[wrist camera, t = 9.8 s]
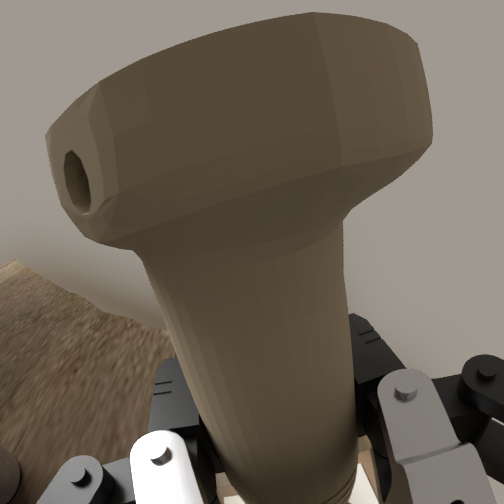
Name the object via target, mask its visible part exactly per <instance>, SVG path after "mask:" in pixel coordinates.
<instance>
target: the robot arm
mask: <svg viewBox="0 0 504 504" xmlns="http://www.w3.org/2000/svg"><path fill="white" fill-rule="evenodd" d="M348 316H349V325H350V335H351V347H352V359H353V372H354V384H355V398H356V416H357V434H358V438H359V437H362V436H364V435H367V436H368V438H369V440H370V442H371V449H370V452H371V458H372V463H373V469H374V475H375V480H376V486H377V492H378V499H379V504H496V500H495V497H494V495H493V492H492V489H491V486H490V483H489V480H488V478H487V475H488V476H490V477H492V478H493V479H495V480H497V481H498V482H500V483H502V484H504V426H503V425H501V424H499V423H497V422H496V421H494V420H492V417H493V418H495V419H497V420H499V421H501V422H503V423H504V360H502V359H500V358H498V357H495V356H492V355H486V354H485V355H477V356H474V357H472V358H470V359H469V360H468V361H467V362H466V363H465V365H464V367H463V369H462V373H461V374H458V375H453V376H448V377H443V378H437V379H430V378H429V377H428V376H427V375H426V374H425V373H423V372H421V371H418V370H414V369H407V368H405V366H404V365H403V364H402V362H401V361H400V360H399V359H398V357H397V356H396V355H395V354H394V352H393V351H392V350H391V349H390V347H389V346H388V345H387V344H386V343H385V341H384V340H383V339H381V337H380V335H379V334H378V333H377V332H376V331H374V328H373V327H372V326H371V325H370V323H369V322H368V321H367V320H366V319H364V318H362V317H360V316H358V315H356V314H354V313H353V314H349V315H348ZM153 395H154V396H153V398H152V405H151V412H150V419H149V426H148V433H147V435H145V436H143V437H142V438H141V439H139V440H138V441H137V442H136V444H135V445H134V447H133V449H132V451H131V456H129V457H127V458H124V459H121V460H118V461H115V462H112V463H109V464H106V465H101V464H100V463H99V462H98V461H97V460H96V459H95V458H93V457H90V456H85V455H82V456H76V457H73V458H71V459H70V460H68V461H67V462H66V463H65V464H64V465H63V466H62V467H61V468H60V470H59V471H58V473H57V474H56V476H55V477H54V478H53V480H52V481H51V483H50V484H49V486H48V487H47V489H46V490H45V492H44V493H43V494H42V496H41V497H40V499H39V500H38V502H37V503H36V504H223V501H222V499H221V496H220V493H219V491H218V490H217V486H216V475H215V473H222V472H226V471H225V469H224V467H223V465H222V463H221V461H220V459H219V457H218V455H217V452H216V450H215V448H214V446H213V444H212V442H211V440H210V438H209V435H208V433H207V431H206V428H205V426H204V424H203V421H202V419H201V416H200V414H199V411H198V409H197V407H196V404H195V402H194V399H193V397H192V394H191V392H190V389H189V387H188V384H187V382H186V379H185V376H184V374H183V371H182V368H181V366H180V363H179V360H178V358H177V355H176V352H175V358H170V359H165V360H164V361H163V363H162V364H161V366H160V367H159V369H158V370H157V373H156V379H155V386H154V391H153ZM486 474H487V475H486ZM19 480H20V468H19V464H18V462H17V460H16V458H15V457H14V456H13V455H12V454H11V453H10V452H9V451H8V450H7V449H6V448H5V447H4V445H3V444H2V443H1V442H0V504H7V503H8V502H9V500H10V499H11V498H12V497H13V495H14V494H15V492H16V490H17V487H18V484H19Z"/></svg>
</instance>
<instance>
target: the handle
mask: <svg viewBox="0 0 504 504" xmlns="http://www.w3.org/2000/svg"><path fill="white" fill-rule="evenodd" d="M432 137H433V127H432V114H431V106H430V100H429V94H428V88H427V83H426V78H425V74H424V69H423V65H422V61H421V56H420V52H419V48H418V44H417V43H416V42H415V41H414V40H413V39H412V38H411V37H410V36H409V35H408V34H406V33H404V32H403V31H401V30H399V29H397V28H395V27H393V26H390V25H388V24H386V23H382V22H378V21H374V20H370V19H365V18H361V17H356V16H350V15H341V14H330V13H316V12H310V13H303V14H296V15H290V16H284V17H278V18H273V19H268V20H263V21H258V22H253V23H249V24H245V25H241V26H237V27H233V28H229V29H225V30H222V31H218V32H214V33H211V34H208V35H205V36H202V37H198V38H196V39H192V40H189V41H187V42H184V43H181V44H178V45H175V46H173V47H170V48H168V49H165V50H162V51H160V52H157V53H155V54H152V55H150V56H148V57H145V58H143V59H141V60H139V61H137V62H135V63H133V64H131V65H129V66H127V67H125V68H123V69H121V70H119V71H117V72H115V73H114V74H112V75H110V76H108V77H107V78H105V79H103V80H101V81H99V82H98V83H97V84H95V85H94V86H93V87H92V88H90V89H89V90H88V91H86V92H85V93H84V94H83V95H81V96H80V97H79V98H78V99H77V100H75V101H74V102H73V103H72V104H71V105H70V106H69V107H68V108H67V110H66V111H65V112H64V113H63V114H62V115H61V116H60V117H59V118H58V119H57V120H56V121H55V122H54V123H53V124H52V126H51V127H50V128H49V130H48V131H47V133H46V135H45V139H46V145H47V151H48V156H49V162H50V167H51V171H52V176H53V179H54V183H55V186H56V189H57V193H58V196H59V200H60V203H61V206H62V207H63V209H64V210H65V212H66V213H67V215H68V216H69V218H70V219H71V220H72V222H73V223H74V224H75V225H76V226H77V228H78V229H79V230H80V232H81V233H82V234H83V235H84V236H85V237H86V238H88V239H91V240H93V241H95V242H97V243H100V244H104V245H107V246H111V247H115V248H119V249H126V250H132V251H134V252H135V253H136V254H137V255H138V256H139V257H140V258H141V260H142V261H143V264H144V267H145V270H146V273H147V275H148V278H149V281H150V283H151V286H152V289H153V291H154V294H155V296H156V299H157V302H158V304H159V307H160V309H161V312H162V314H163V317H164V320H165V323H166V326H167V329H168V332H169V335H170V338H171V341H172V344H173V346H174V349H175V352H176V355H177V358H178V360H179V363H180V366H181V368H182V371H183V374H184V376H185V379H186V382H187V384H188V387H189V389H190V392H191V394H192V397H193V399H194V402H195V404H196V407H197V409H198V411H199V414H200V416H201V419H202V421H203V424H204V426H205V428H206V431H207V433H208V435H209V438H210V440H211V442H212V444H213V446H214V448H215V450H216V452H217V455H218V457H219V459H220V461H221V463H222V465H223V467H224V469H225V471H226V472H225V474H226V476H227V478H228V480H229V482H230V483H231V485H232V486H233V488H234V489H235V491H236V492H237V494H238V495H239V496H240V498H241V499H242V500H243V502H244V503H245V504H347V503H348V501H349V499H350V496H351V493H352V490H353V487H354V484H355V480H356V474H357V466H358V453H359V444H358V434H357V416H356V398H355V384H354V372H353V359H352V347H351V335H350V325H349V316H348V307H347V298H346V290H345V282H344V274H343V220H344V218H345V217H346V216H347V214H348V213H349V212H350V210H351V209H352V208H353V207H355V206H357V205H358V204H359V203H361V202H362V201H363V200H365V199H366V198H368V197H369V196H371V195H372V194H374V193H376V192H377V191H379V190H380V189H382V188H383V187H385V186H387V185H388V184H390V183H391V182H393V181H394V180H395V179H397V178H398V177H399V176H401V175H402V174H403V173H404V172H405V171H406V170H407V169H409V168H410V167H411V166H412V165H413V164H414V163H415V162H416V161H417V160H419V158H420V157H421V156H422V155H423V154H424V152H425V151H426V150H427V149H428V147H429V146H430V145H431V144H432Z"/></svg>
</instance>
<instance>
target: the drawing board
mask: <svg viewBox="0 0 504 504" xmlns="http://www.w3.org/2000/svg"><path fill="white" fill-rule="evenodd" d="M217 490H218V491H219V493H220V496H221V499H222V501H223V504H245V503H244V502H243V500H242V499H241V498H240V496H239V495H238V494H237V492H236V491H235V489H234V488H233V486H230V487H223V488H217ZM347 504H379V499H378V492H377V486H376V480H375V475H374V469H373V463H372V458H371V455H370V453H369V450H366V451H364V452H361V453H358V466H357V474H356V480H355V484H354V487H353V490H352V493H351V496H350V499H349V501H348V503H347Z"/></svg>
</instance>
